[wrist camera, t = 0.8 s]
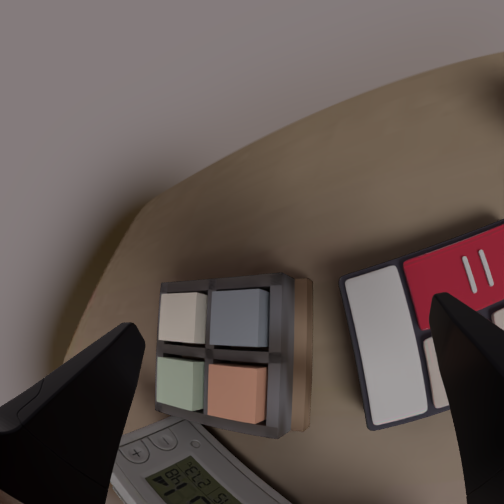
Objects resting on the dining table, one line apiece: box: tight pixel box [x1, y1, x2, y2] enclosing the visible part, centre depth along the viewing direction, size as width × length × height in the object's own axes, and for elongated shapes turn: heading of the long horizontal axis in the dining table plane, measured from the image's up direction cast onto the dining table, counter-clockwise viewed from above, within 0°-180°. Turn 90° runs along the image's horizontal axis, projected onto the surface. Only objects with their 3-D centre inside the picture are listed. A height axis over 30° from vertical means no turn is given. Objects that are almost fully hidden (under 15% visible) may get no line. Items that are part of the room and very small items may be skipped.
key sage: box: [157, 357, 205, 411], centre depth 23 cm, size 4×4×2 cm
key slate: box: [210, 289, 270, 347], centre depth 22 cm, size 4×4×2 cm
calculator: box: [338, 219, 504, 431], centre depth 16 cm, size 11×4×15 cm
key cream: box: [158, 292, 208, 344], centre depth 24 cm, size 4×4×2 cm
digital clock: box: [110, 416, 292, 504], centre depth 18 cm, size 16×9×11 cm, turn 43°
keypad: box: [155, 272, 313, 439], centre depth 24 cm, size 12×14×4 cm
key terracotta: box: [208, 363, 268, 424], centre depth 20 cm, size 4×4×2 cm
